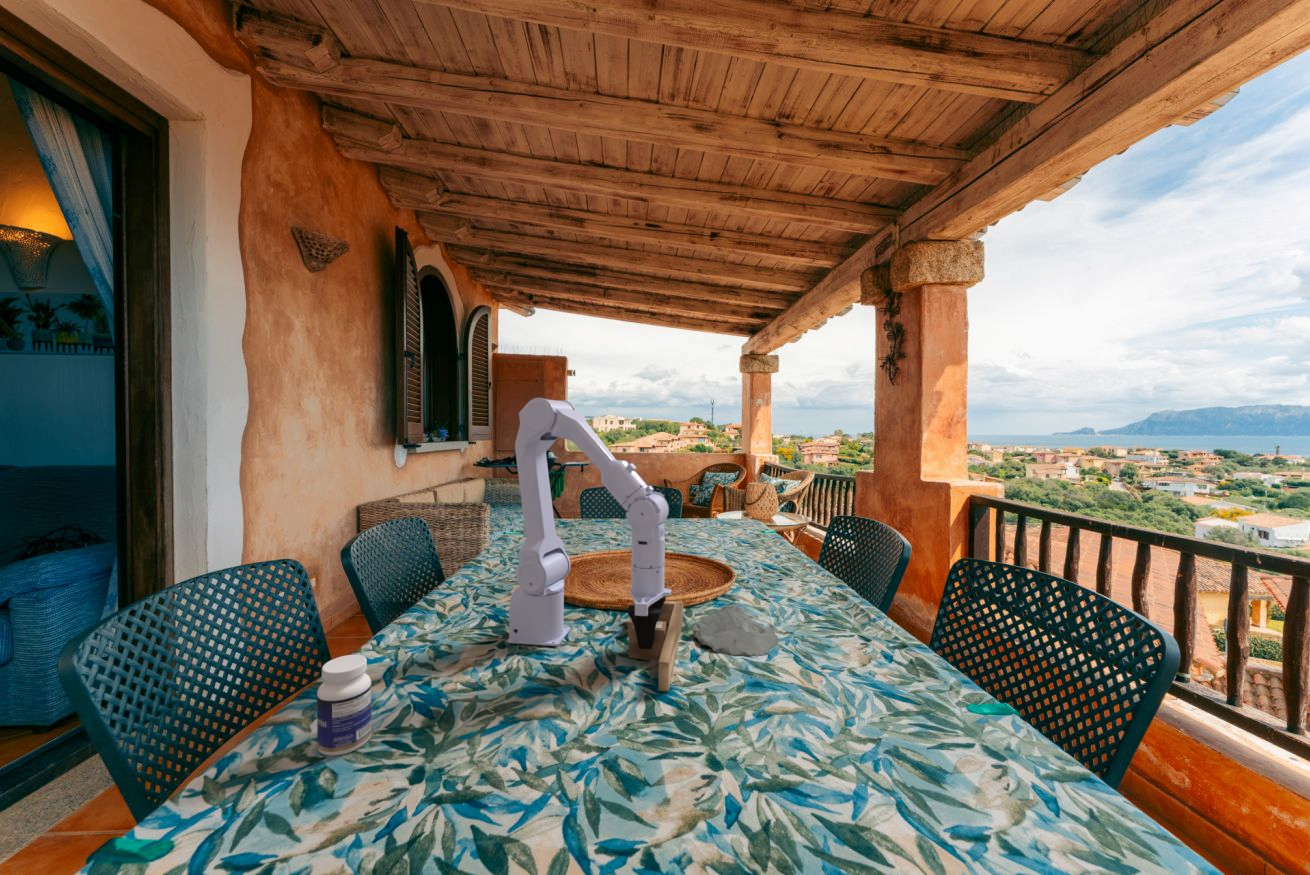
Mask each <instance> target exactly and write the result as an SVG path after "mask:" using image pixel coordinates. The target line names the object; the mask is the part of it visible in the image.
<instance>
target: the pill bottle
mask: <svg viewBox="0 0 1310 875" xmlns="http://www.w3.org/2000/svg"><path fill="white" fill-rule="evenodd" d="M367 669H368V663H367V657H366V656H365V655H362V654H347V655H342V656H338V657H336V658H333V659H330V660H329V661H327V662H326V663H324V664H323V666H322V668H321V679H322V680H323V682H322V683H321V684H320V685H319V686H318V689H317V692H316V707H317V708H316V713H317V714H316V718H317V721H316V723H317V724H316V726H317V729H316V730H317V734H316V735H317V737H316V738H317V740H316V742H317V746H316V748H317V750H318V751H319V753H321V754H323V755H324V756H329V757H332V756H333V757H334V756H341V755H345V754H349V753H352V752H353V751H356V750H358V749H360V748H361V747H362V746H364V745H366V744H367V743H368V741H369V740H370V738H371V737H372V732H373V731H372V727H373V724H372V720H373V719H372V718H373V717H372V679H371V677H370V675H368V674H367V673H365V672H366V671H367Z"/></svg>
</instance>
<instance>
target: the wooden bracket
mask: <svg viewBox="0 0 1310 875" xmlns="http://www.w3.org/2000/svg"><path fill="white" fill-rule="evenodd" d="M633 605H635V603H634V602H633ZM661 609H662V612H661V614H660V616H659V621H664V622H666V624H668V627H667V629H666V637H665V641H664V645H663V648H662V652H661V656H660V659H659V660H658V692H659V691H660V692H669V690H670V686H671V682H672V677H673V671H674V666H675V662H676V657H677V653H678V649H679V642H680V638H681V634H682V628H683V623H684V601H673V600H665V602H664V604H663V606H662V608H661ZM631 623H632V620H631V618H630V617H629V618H628V621H627V625H626V628H627V633H626V634H627V637H629V627H630V625H631Z"/></svg>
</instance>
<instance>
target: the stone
mask: <svg viewBox="0 0 1310 875" xmlns="http://www.w3.org/2000/svg"><path fill="white" fill-rule="evenodd" d="M775 631H776V630H775V627H771V626H765V625H762V624H760V623H758V622H756V621H755V620H753V619H752V618H751V617H750V616H749V615H748V614H747V613H746V612H745V609H744V608H743V607H741V606H739V605H734V604H733V605H732V604H730V605H724V606H722V607H721V608H720V609H718V610H716V611H715V612H713V613H711V614H709V615H708V616H705V617H702V618H701V619H700V620H698V621H695V622H694V625H693V626H692V632H693V637H694V639H697V640H698V643H700V645H703V646H707V647H710V648H711V650H712V651H713V652H714V653H718V654H720V653H721V654H726V655H729V656H731V657H737V656H744V657H750V658H751V657H757V658H758V657H762V656H763V655H764V656H765V655H768V654H769V653H770V650H771V649H772V648H775V647H776V646H777V645H778V643H779V641H778V636H777V635H776V632H775ZM767 653H768V654H767Z"/></svg>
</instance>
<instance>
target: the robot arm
mask: <svg viewBox="0 0 1310 875" xmlns="http://www.w3.org/2000/svg"><path fill="white" fill-rule="evenodd" d="M518 416H519V418H518V419H519V428H518V431H517V435H516V438H515V442H514V450H515V458H516V467H517V475H518V483H519V492H520V500H521V507H522V508H521V511H522V518H523V525H524V532H525V534H524V535H525V540H524V543H523V544H522V546H521V547H520V549H519V551H518V553H517V554H518V565H517V568H516V572H515V578H516V582H517V584H518V586H519V587H517V588H515V589H514V590H513V592H512V594H511V597H510V600H509V607H508V608H509V609H508V610H509V611H508V612H509V613H508V614H509V617H508V618H509V619H508V622H509V623H508V627H509V629H508V630H509V631H508V632H509V634H508V639H507V643H509V644H518V645H519V644H521V645H532V646H533V645H534V646H535V645H536V646H549V647H558V646H559V645H560V644H561V642H562V641H563V640H564V638H566V636H567V635H568V633H569V632H570V631H571V627H570V626H566V625H564V615H565V614H564V612H565V610H564V609H565V607H564V604H565V603H564V602H565V598H564V596H565V594H564V593H565V588H564V587H565V579H566V578H567V576H568V575H569V574H570V572H571V560H570V557H569V555H568V554H567V552H566V550H565V545H564V544H565V543H564V541H563V539H561V538H560V537H559V536H558V535H557V534H556V533H557V532H556V526H555V524H556V523H555V518H554V517H555V516H554V508H553V499H552V492H551V491H552V490H551V484H550V477H549V476H550V474H549V468H548V460H547V451H548V450H549V449H550V448H551V447H552V445H553V444H554V443H555V442H556V441H557V440H558V439H565V440H567V441H571V443H573V444H574V445H575V446H576V447H577V448H578V449H579V450H580V451H581V452H582V453H583V455H585V456H586V458H588V459H589V461H590V462H591V463H592V464H593V465H595V467H596V468H597V469H598V470H599V471H600V472H601V474H600V475H601V476H600V478H601V479H600V480H601V484H602V485H603V486H604V487H605V488H606V489H607V491H608V492H609V494H611V496H613V497H614V499H615V500H616V501H617V502H618V503H619V504H620V506H621V507H622V508H623V509H624V510H625V511H626V512H625V516H626V521H627V523H628V525H629V526H630V527H631V560H630V561H631V562H630V563H631V566H630V568H631V577H630V580H631V581H630V582H631V583H630V584H631V585H630V586H631V587H630V589H629V595H630V598H631V599H632V601H633V604H630V605H628V607H627V614H628V616H629V618H631V620H632V622H633V625H634V628H635V632H636V637H637V642H638V646H639V648H640V649H651V648H652V645H653V640H654V634H655V627H656V623H657V621H659V616H660V614H661V612H662V609H661V608H662V606H663V604H664V602H665V601H667V600H666V599H667V597H670V596H671V594H672V589H671V588H665V561H666V559H665V554H666V553H665V552H666V549H665V546H666V544H665V543H666V537H665V521H666V520H667V519H668V516H669V513H670V507H669V503H668V501H667V499H666V498H665V495H664V494H663V493H661V492H657V491H654V487H653V486H652V485H648V484H647V483H646V482H645V481H644V479H643V478H642V477H641V476H640V475H639V474H638V473H637V472H636V470H637V466H635V464H634V463H629V462H628V461H627V460H623V459H616V458H615V456H614V455H613V453H611V451H610V450H609V449H608V448H607V446H606V445H605V444H604V442H603V441H602V440H601V438H600V437H599V436H598V434H596V432H595V431H594V429H593V428H592V426H590V425H589V423H588V422H587V420H586V418H585V417H584V415H583V413H581V412H580V411H579V410H578V409H576V407H575V405H574V404H572V403H571V401H570V402H569V401H568V400H563V399H561V400H560V399H559V400H557V399H555V400H554V399H549V398H548V399H547V398H543V397H535V398H532V399H530V400H529V401H528V402H527V403H526V404H525V406H523V408H522V409H521V410H520V411H519V412H518ZM634 603H635V605H634Z"/></svg>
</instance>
